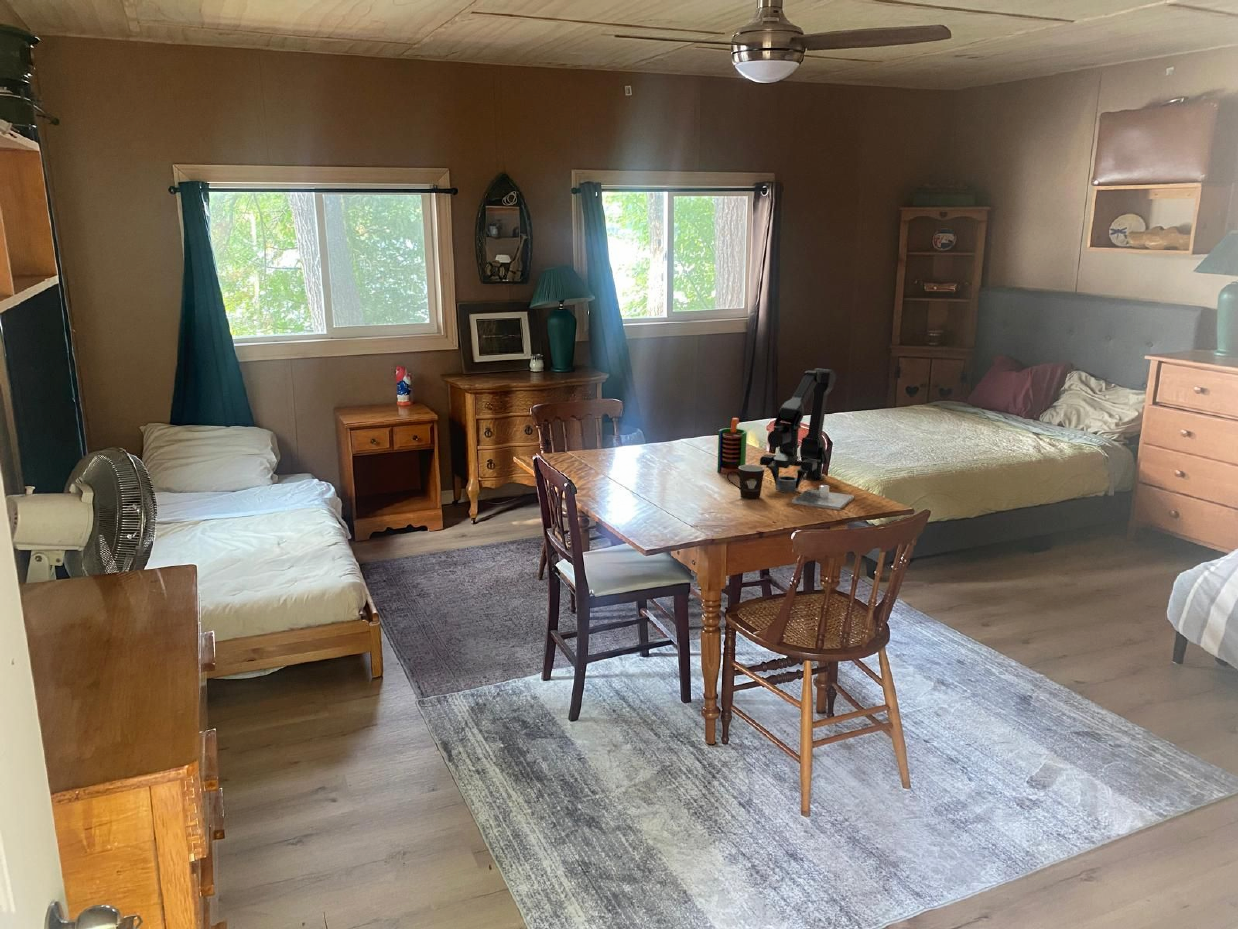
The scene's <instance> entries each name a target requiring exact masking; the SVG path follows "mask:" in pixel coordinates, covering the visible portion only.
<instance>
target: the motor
mask: <svg viewBox="0 0 1238 929" xmlns="http://www.w3.org/2000/svg"><path fill="white" fill-rule="evenodd" d="M739 420H740V418H738V417H733V418H732V419H731V425H730V427H727V428H721V429H719V430H718V437H717V438H718V440H717V443H718V444H717V473H721V474H722V475H725V476H727V474H728V473H729V472H730V471H736V472H738V473H739V466H742V465H746V462H747V460H746V456H747V437H748V436H747V435H748V431H747V430H746V429H741V428H738V427H737V426H738V425H739V423H740V421H739ZM729 476H738V475H737V474H736V473H730V474H729Z"/></svg>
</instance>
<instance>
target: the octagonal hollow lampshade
mask: <svg viewBox="0 0 1238 929" xmlns="http://www.w3.org/2000/svg"><path fill="white" fill-rule="evenodd" d="M796 483H797V476H791V475H779V477H777V478H776V484H775V490H777V491H778V492H780V493H796V492H798V491H799V487H798V488H796ZM797 490H798V491H797Z"/></svg>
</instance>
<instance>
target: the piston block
mask: <svg viewBox="0 0 1238 929" xmlns="http://www.w3.org/2000/svg"><path fill="white" fill-rule="evenodd" d="M854 497H855V495H853V494H852V495H851V494H845V493H839V492H830V485H828V484H819V485H818V490H817V489H811V488H807V489H806V490H804V491H803V492H801V493H800V494H799V495H798V496H795V497H794V498H793V499H792V500H791V504H795V505H802V506H809V507H816V508H823V509H829V510H836V511H840V510H841V511H842V509H844V507H846V506H847V505H848V504H849V503H850V502H851V501H852V500H854V499H855V498H854ZM853 498H854V499H853ZM850 500H851V501H850ZM847 503H848V504H847ZM846 504H847V505H846Z"/></svg>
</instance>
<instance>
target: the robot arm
mask: <svg viewBox="0 0 1238 929" xmlns="http://www.w3.org/2000/svg"><path fill="white" fill-rule="evenodd" d="M836 379H837V374H836V373H835V372H834V370H833V369H827V368H826V369H825V368H814V369H813V370H806V371H804V373H803V378H802V379H801V382H800V383H799V385H798V387H797V388H796V390H795V392H794V394H793V395H792V396H791V398H790V399H789V400H787V401H785V402H784V403H783V404H782V405H781V407H780V409H779V410H778V413H777V415H776V418H775V420H774V423H773V430H771V432H769V433H768V435H767V443H768V444H769V446H771V447H772V448H776V449H777V448H778V452H777V453H776V454H775V455H774V454H770V453H766V454H764V455H763V456H761V457H760V459H759V466H765V467H766V468H765V469H768V470H770V472H771V476H772V477H773V481H774V484H775V485H776V478H777V477H779V476H780V468H783V469H788V468H789V467H790V466H792V467H799V469H797V471H796V472H797V476H796V478H797V483H796V488H798V489H799V487H800V485H801V483H802V481H803V480H809V479H811V481H817V482H819V481H822V480H823V479H824V478H825V475H823V465H827V464H828V462H829V461H830V460H829V458H830V455H829V454H828V452H827V450H826V441H825V439H824V437H823V429H824V424H825V423H824V422H825V416H826V415H825V414H826V409H827V408H826V407H827V402H828V395H829V394H830V392H831V391H832V390H833V389H834V387H835V386H834V385H835V382H836ZM812 393H813V396H812V404H811V410H810V411H811V412H810V419H809V425H808V432H807V434H806V435H805V437H802V439H801V444H800V445H799V444H798V443H799V429H801V427H802V426H801V422H802V421H803V418H804V415H805V409H804V407H805V405H806V403H807V402H808V400H809V398H810V396H811V394H812ZM799 446H800V447H799ZM798 448H799V454H800V460H799V456H798Z"/></svg>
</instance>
